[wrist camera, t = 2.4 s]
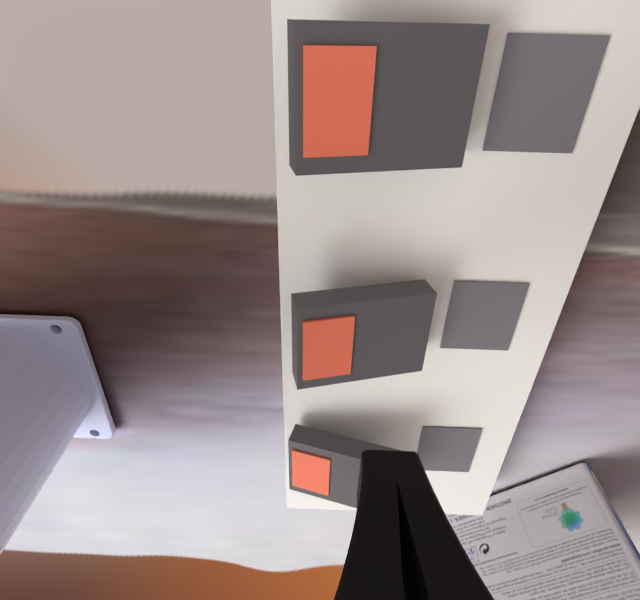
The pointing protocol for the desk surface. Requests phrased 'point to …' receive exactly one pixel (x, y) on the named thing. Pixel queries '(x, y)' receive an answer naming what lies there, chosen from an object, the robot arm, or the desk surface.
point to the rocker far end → (326, 464)
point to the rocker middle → (360, 332)
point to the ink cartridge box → (552, 541)
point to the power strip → (463, 230)
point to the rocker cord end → (380, 94)
